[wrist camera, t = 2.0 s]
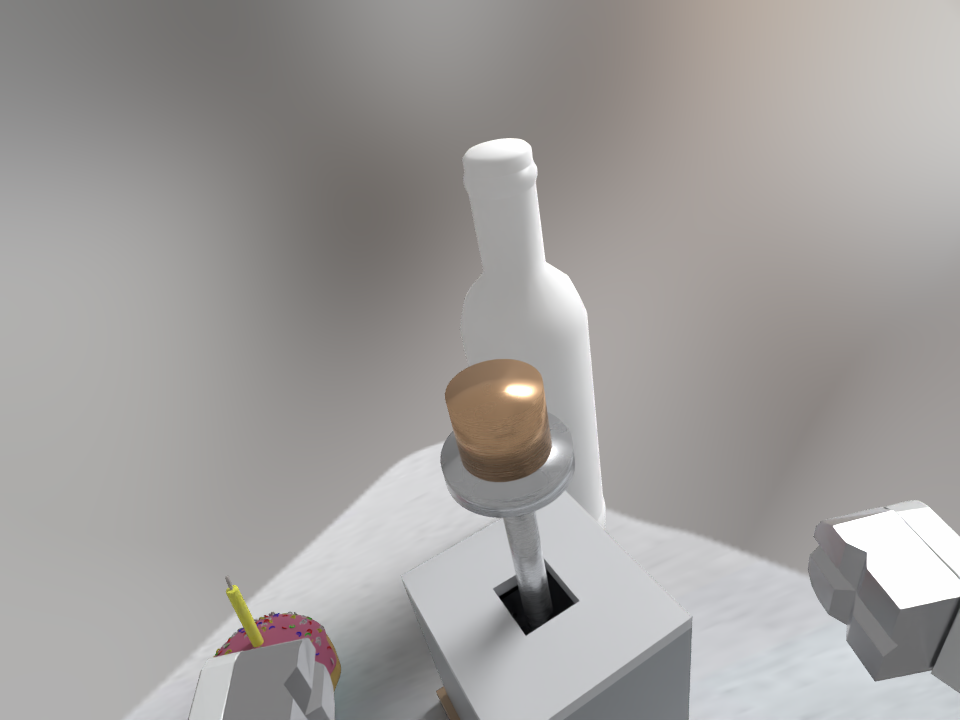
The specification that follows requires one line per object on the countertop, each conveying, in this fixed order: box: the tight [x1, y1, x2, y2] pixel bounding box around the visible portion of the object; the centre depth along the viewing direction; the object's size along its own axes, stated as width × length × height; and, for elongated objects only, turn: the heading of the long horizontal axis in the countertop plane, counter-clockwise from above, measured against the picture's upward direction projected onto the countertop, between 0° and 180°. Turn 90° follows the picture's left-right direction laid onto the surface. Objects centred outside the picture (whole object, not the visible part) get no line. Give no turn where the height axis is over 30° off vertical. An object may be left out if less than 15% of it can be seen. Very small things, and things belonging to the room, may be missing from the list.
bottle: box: [460, 138, 605, 530], centre depth 40 cm, size 8×8×30 cm
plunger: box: [441, 359, 575, 636], centre depth 27 cm, size 8×8×18 cm
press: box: [401, 491, 692, 720], centre depth 33 cm, size 11×11×13 cm
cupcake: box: [213, 576, 341, 691], centre depth 36 cm, size 9×8×12 cm
